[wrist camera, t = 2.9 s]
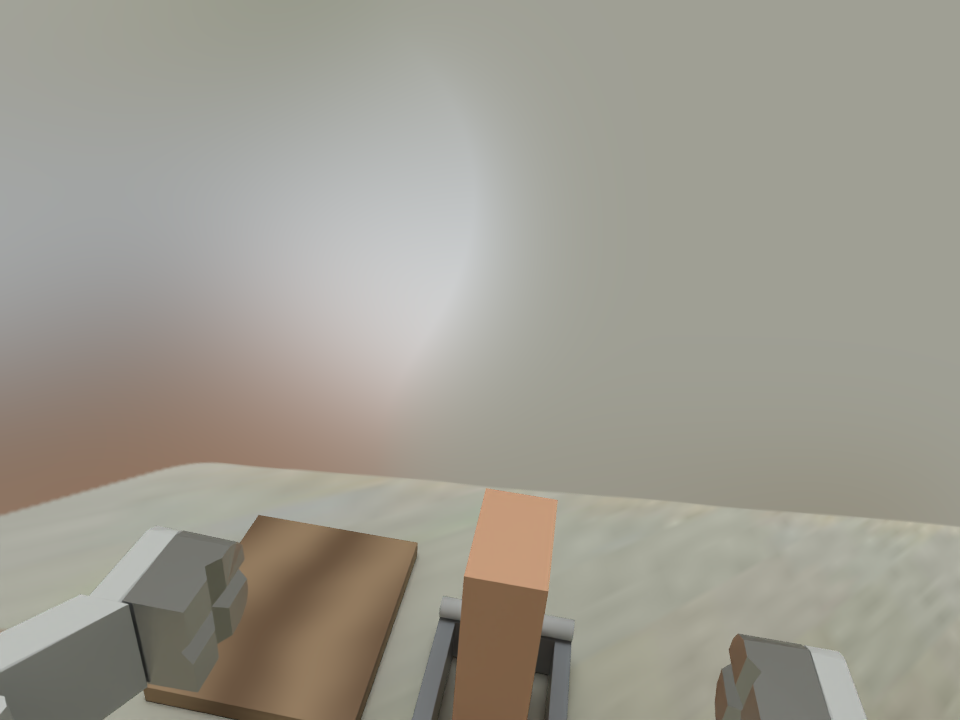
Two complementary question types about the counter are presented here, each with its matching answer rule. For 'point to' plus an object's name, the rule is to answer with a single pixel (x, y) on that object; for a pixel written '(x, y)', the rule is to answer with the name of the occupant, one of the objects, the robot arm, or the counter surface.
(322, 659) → the pad
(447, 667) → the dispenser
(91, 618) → the robot arm
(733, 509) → the counter surface
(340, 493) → the counter surface
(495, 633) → the tan rectangular prism
